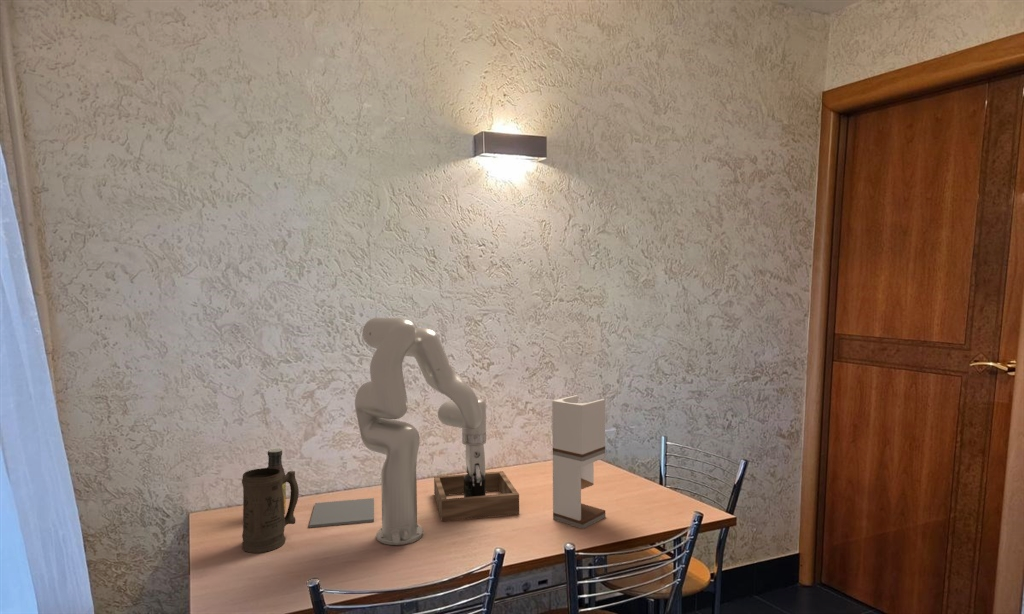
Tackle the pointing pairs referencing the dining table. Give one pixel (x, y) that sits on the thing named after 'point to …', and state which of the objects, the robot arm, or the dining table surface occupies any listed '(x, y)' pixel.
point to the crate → (475, 498)
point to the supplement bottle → (469, 483)
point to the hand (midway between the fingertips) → (474, 493)
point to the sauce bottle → (275, 462)
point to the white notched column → (576, 457)
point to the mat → (342, 512)
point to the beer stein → (266, 508)
